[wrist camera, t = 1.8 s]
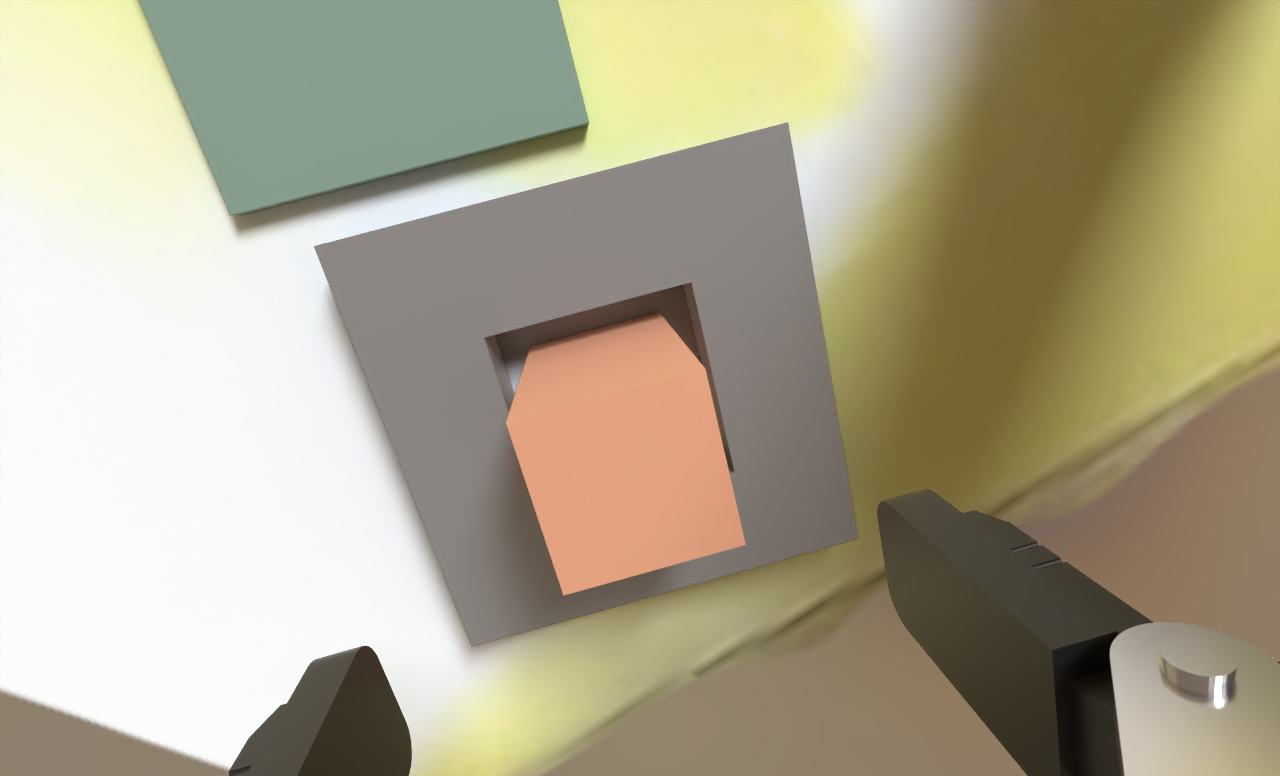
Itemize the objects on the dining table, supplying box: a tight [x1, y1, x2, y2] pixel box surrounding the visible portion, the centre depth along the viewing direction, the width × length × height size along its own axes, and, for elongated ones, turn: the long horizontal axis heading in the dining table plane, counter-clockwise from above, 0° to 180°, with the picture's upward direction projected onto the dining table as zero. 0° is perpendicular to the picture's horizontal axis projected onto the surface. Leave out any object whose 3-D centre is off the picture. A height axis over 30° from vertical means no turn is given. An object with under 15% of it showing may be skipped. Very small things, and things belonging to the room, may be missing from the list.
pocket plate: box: [314, 123, 858, 647], centre depth 21 cm, size 14×14×2 cm
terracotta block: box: [506, 312, 746, 595], centre depth 18 cm, size 4×4×8 cm
